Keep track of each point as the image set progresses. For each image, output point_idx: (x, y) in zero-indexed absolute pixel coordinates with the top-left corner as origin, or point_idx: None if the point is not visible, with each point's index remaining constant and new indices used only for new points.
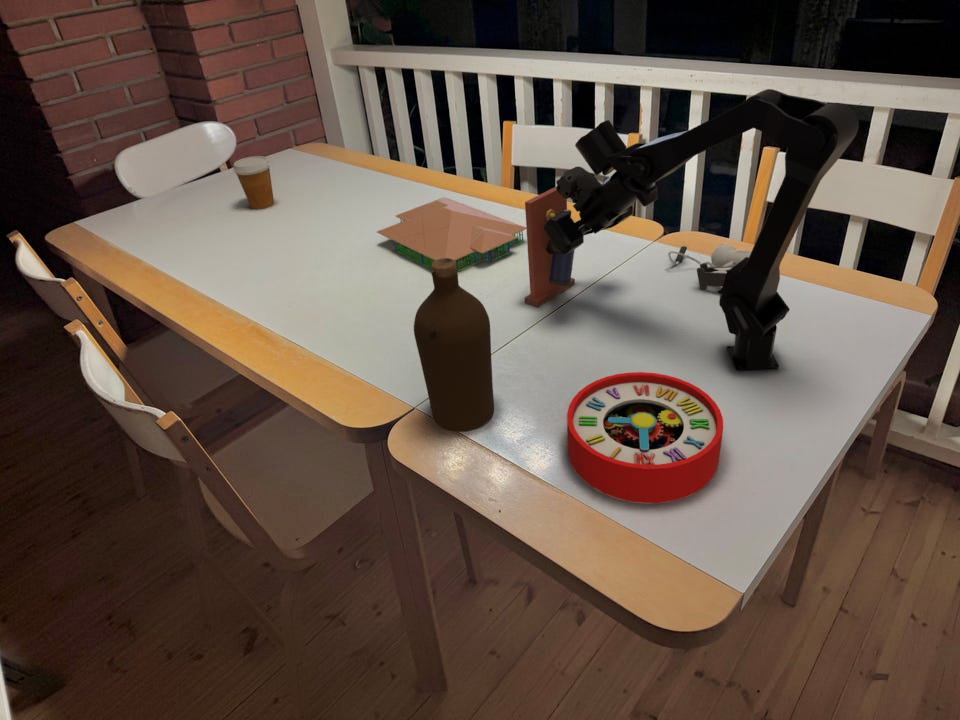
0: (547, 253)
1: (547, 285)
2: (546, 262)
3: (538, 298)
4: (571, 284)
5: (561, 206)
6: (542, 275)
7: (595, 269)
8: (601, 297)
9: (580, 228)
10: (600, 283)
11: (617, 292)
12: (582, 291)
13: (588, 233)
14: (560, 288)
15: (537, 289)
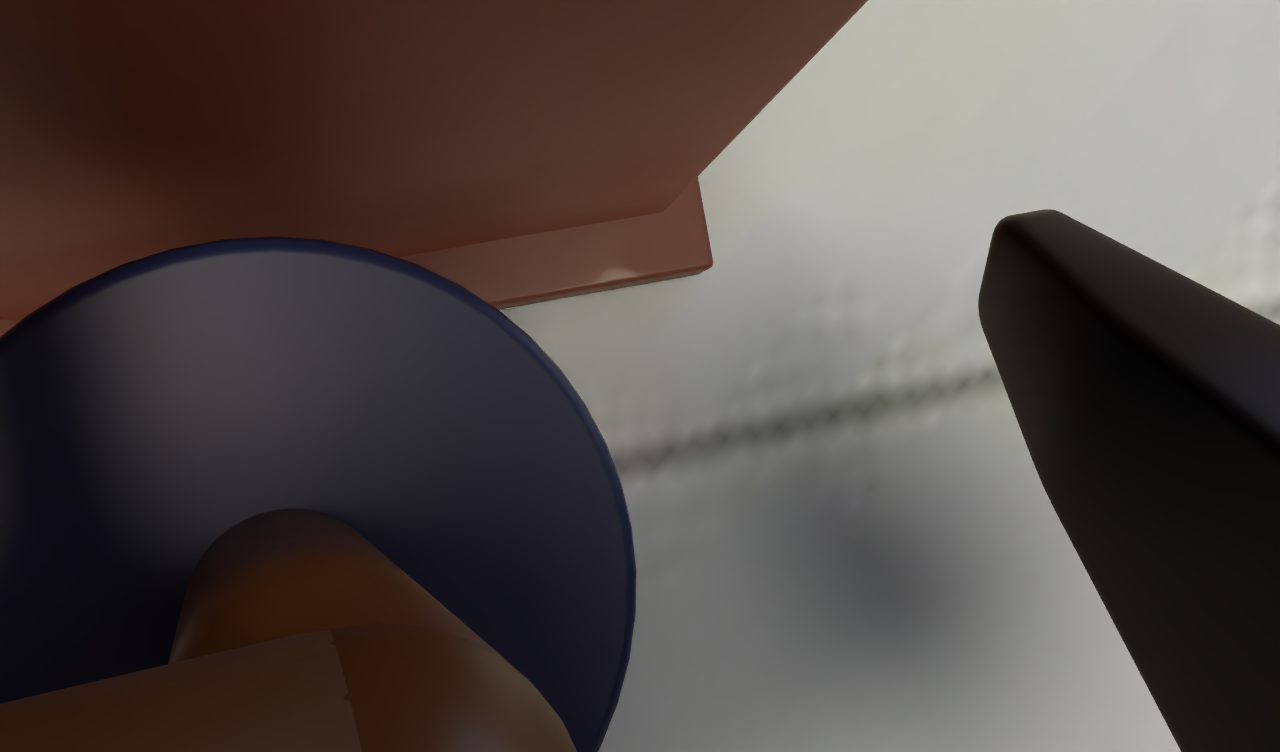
0: (111, 197)
1: None
2: (127, 229)
3: None
4: (642, 282)
5: None
6: (76, 269)
7: (1095, 175)
8: (704, 705)
9: (1068, 310)
10: (911, 459)
11: (899, 739)
12: (649, 458)
13: (1080, 549)
14: None
15: (12, 307)
